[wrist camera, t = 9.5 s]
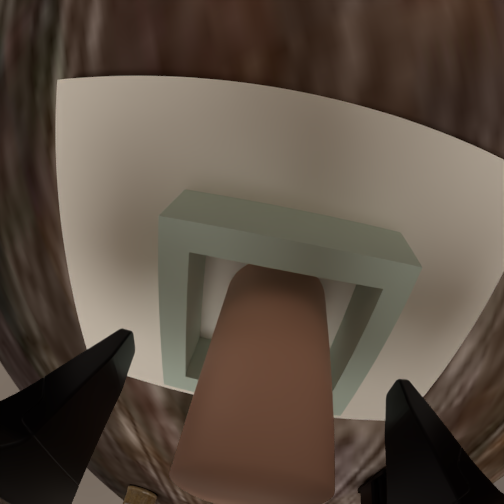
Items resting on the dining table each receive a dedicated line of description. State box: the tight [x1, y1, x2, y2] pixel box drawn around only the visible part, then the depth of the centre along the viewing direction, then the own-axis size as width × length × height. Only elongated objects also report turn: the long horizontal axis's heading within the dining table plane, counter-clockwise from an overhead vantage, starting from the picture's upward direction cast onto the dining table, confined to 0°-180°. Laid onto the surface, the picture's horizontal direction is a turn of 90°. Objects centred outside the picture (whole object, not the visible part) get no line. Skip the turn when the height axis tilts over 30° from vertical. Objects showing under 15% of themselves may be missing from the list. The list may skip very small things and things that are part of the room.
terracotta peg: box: [169, 264, 335, 504], centre depth 9 cm, size 4×4×8 cm
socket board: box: [56, 76, 504, 421], centre depth 12 cm, size 20×16×4 cm
